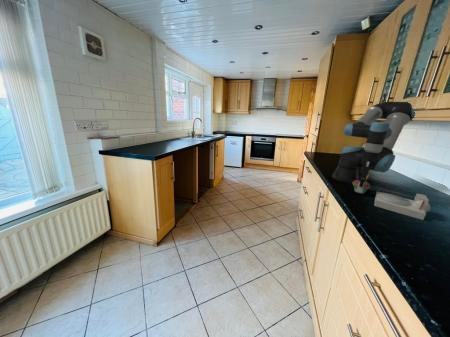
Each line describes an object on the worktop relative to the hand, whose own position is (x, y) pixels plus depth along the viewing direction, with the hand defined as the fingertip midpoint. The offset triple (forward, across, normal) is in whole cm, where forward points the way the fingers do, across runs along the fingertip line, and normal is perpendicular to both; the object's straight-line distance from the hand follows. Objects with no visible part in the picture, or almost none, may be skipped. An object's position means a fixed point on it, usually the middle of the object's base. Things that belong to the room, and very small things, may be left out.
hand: (359, 189), depth 106 cm
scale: (+1, +8, +16) cm, 18 cm away
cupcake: (+2, 0, 0) cm, 2 cm away
